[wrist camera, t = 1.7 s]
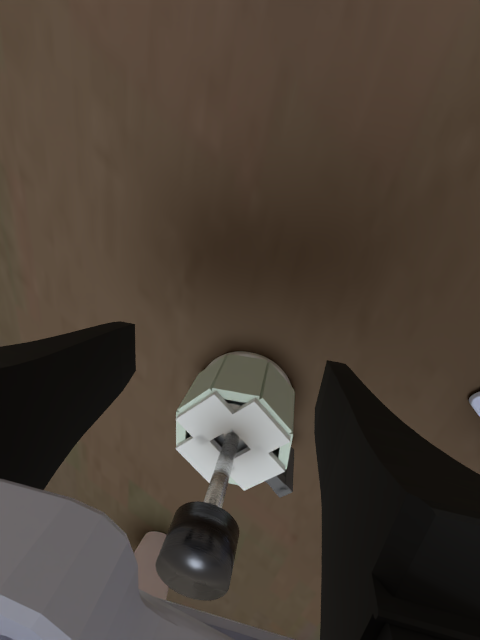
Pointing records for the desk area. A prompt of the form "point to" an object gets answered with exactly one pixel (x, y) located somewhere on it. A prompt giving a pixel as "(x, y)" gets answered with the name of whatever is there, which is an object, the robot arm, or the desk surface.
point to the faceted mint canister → (240, 420)
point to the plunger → (204, 534)
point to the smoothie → (150, 564)
